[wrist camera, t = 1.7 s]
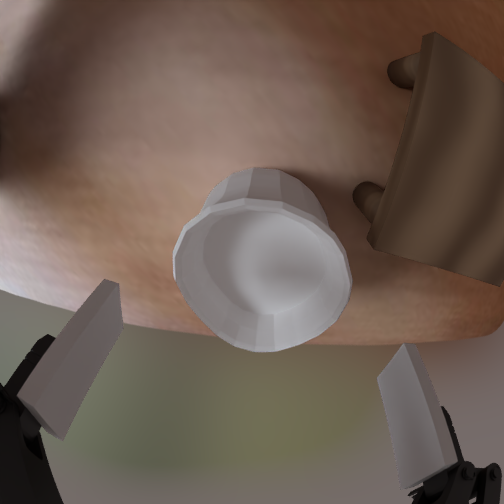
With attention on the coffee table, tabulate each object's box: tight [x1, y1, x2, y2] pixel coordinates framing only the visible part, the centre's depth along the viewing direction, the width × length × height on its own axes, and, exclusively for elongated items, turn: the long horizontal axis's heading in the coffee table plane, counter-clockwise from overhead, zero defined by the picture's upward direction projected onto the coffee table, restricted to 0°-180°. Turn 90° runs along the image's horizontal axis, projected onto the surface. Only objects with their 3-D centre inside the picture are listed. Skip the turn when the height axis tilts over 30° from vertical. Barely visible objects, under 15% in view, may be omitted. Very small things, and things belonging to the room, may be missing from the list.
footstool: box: [353, 31, 504, 287], centre depth 15 cm, size 14×14×8 cm
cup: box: [173, 167, 353, 352], centre depth 19 cm, size 10×10×10 cm
